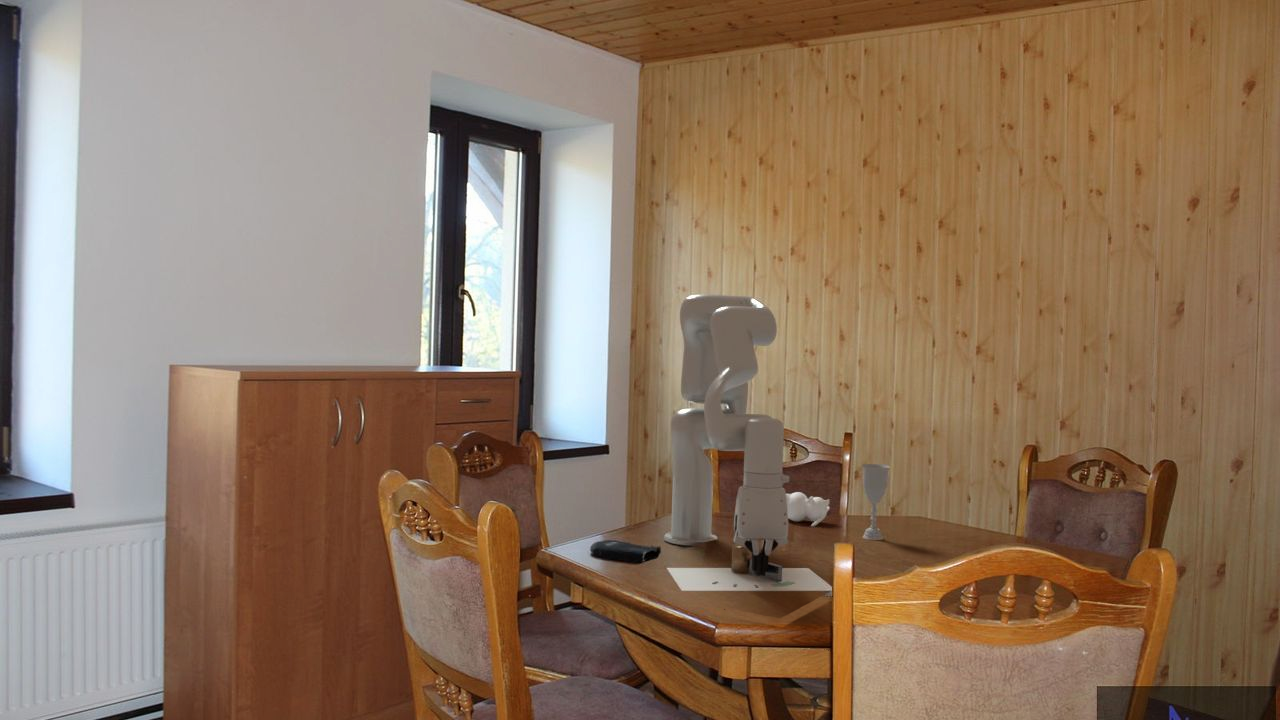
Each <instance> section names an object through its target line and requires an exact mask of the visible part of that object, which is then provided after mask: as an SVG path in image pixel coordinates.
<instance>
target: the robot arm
mask: <svg viewBox="0 0 1280 720" xmlns="http://www.w3.org/2000/svg"><path fill="white" fill-rule="evenodd" d="M679 323H680V328H681V332H682V338H683V355H682V368H681V377H680V378H681V379H680V380H681V381H680V392H681V396H682V398H683V399H684V401H686V402H688V403H690V404H698V405H699V404H700V405H704V406H703V407H701V408H700V407H687V408H683V409H679V410H678V411H676V412H675V413H674V414H673V416H672V417H671V421H670V433H671V442H672V453H673V454H672V455H673V458H672V459H673V460H672V462H673V463H672V464H673V466H672V467H673V468H672V469H673V470H672V493H671V494H672V495H671V496H672V497H671V498H672V499H671V525H670V528H671V529H670V531H669V532H666V533H665V534H664V541H665V542H667V543H670V544H674V545H677V546H679V545H680V546H690V547H696V546H698V545H702V544H704V543H707V542H711V541H716V540H718V536H717V535H715V534H712V517H713V516H712V515H713V514H712V513H713V491H714V490H713V489H714V487H713V486H714V468H713V463H712V462H711V460H710V459H709V457H708V456H707V455H706V453H705V451H704V450H709V449H716V450H718V451H721V452H722V451H723V452H738V451H739V452H743V457H744V458H743V482H742V483H743V484H742V485H741V486H738V490H737V494H736V500H735V508H734V517H733V532H734V536H733V540H732V542H733V543H734V544H738V545H742V546H746V547H747V548H748V549H749V550H750V551H751V552H752V570H753V571H754V573H755V574H756V575H757V576H760V575H762V576H765V574H766V571H768V562H769V556H770V555H771V553H772V552H773V551H774V550H775V549H777V548H778V547H781V546H786V545H788V544H789V541H788V540H789V539H788V534H789V518H788V509H787V499H786V494H787V492H786V488H784V484H785V483H790V475H786V474H784V472H783V464H784V463H783V461H784V459H783V458H784V436H785V435H784V432H785V431H784V430H785V429H784V428H785V427H784V423H783V422H782V420H780V419H778V418H773V417H772V416H771V415H768V414H760V413H759V414H758V413H757V414H756V413H747V406H748V398H749V382H750V381H751V380H752V379H754V378H755V377H756V375H758V372H759V364H758V361H757V356H756V352H755V351H756V350H755V347H756V346H757V347H758V346H759V347H766V346H770V345H771V344H773V343H774V341H775V339H776V337H777V334H778V333H777V331H778V330H777V322H776V318H775V316H774V314H773V312H772V310H771V309H770V308H769V307H768V306H766V305H765V304H764V303H762V302H761V301H759V300H758V299H756V298H754V297H752V296H746V295H745V296H744V295H726V294H725V295H723V294H701V293H700V294H692V295H689V296H687V297H686V298H685V299H684V300H683V301H682V303H681V306H680V309H679ZM722 405H723V408H722ZM759 540H762V545H761V550H760V548H759V547H760V546H759Z"/></svg>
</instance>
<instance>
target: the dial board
mask: <svg viewBox="0 0 1280 720" xmlns="http://www.w3.org/2000/svg"><path fill="white" fill-rule="evenodd" d="M666 569H667V571H668V573H669V574H670V575H671V577H672V578H673V580H674V581H675V583H676V585H677V586H678V587H679V589H680V590H681V592H771V591H772V592H813V591H814V592H826V593H824V594H823V595H820V596H819V597H820V598H827V596H828V598H833V597H832V587H833V586H832V585H830V584H829V583H828V582H827V581H825V579H823V578H822V577H820V576H819V575H818V574H817V573H815V572H814V571H813V570H811V569H810V568H809V567H802V568H801V567H795V568H794V567H782V581H781V582H776V581H773V580H769V579H766V578H763V577H759V576H756V575H752V574H749V573H736V572H733V571H732V570H731V567H666ZM827 591H828V592H827ZM825 596H826V597H825ZM830 596H831V597H830Z"/></svg>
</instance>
